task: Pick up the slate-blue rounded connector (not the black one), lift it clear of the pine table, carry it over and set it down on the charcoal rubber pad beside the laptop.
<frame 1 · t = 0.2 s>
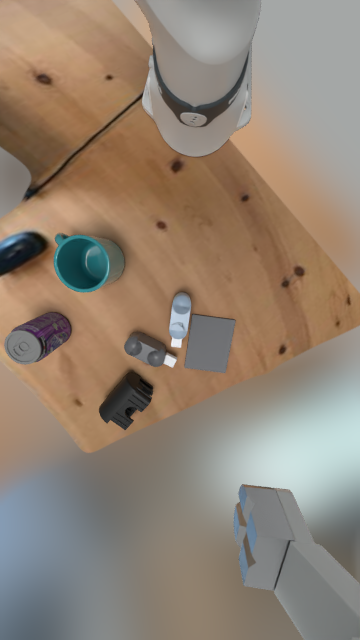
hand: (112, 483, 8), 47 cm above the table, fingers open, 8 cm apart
cup: (97, 256, 53), on the table
black connector: (148, 344, 57), on the table
end cap: (129, 391, 61), on the table
beverage can: (56, 327, 57), on the table
blue connector: (180, 312, 55), on the table
pad: (209, 343, 57), on the table
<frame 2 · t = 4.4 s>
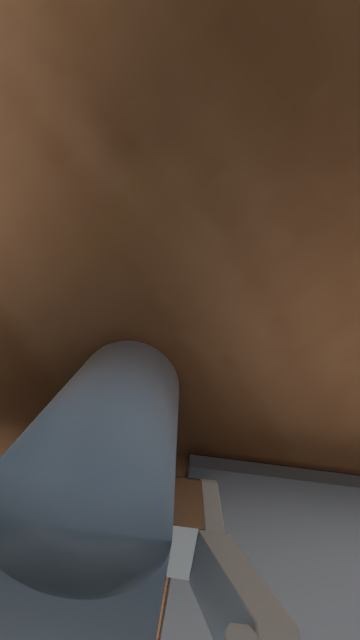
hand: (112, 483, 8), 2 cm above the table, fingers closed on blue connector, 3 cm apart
blue connector: (124, 445, 10), on the table, touching gripper
pad: (271, 580, 12), on the table
when the fingers open (3 cm above the table, at t = 9.0 s): blue connector stays where it is, resting on pad.
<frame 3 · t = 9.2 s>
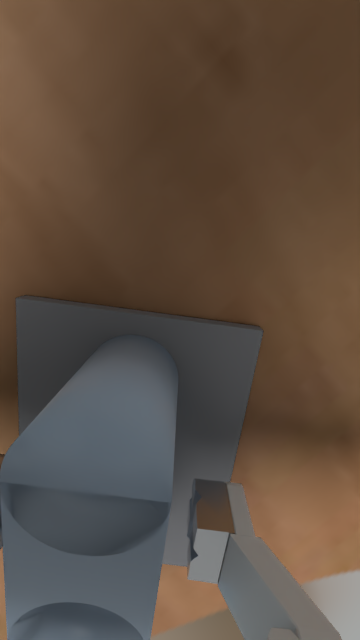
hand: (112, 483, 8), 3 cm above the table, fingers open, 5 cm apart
blue connector: (127, 433, 11), point 1 cm above the table, touching pad
pad: (129, 442, 12), on the table
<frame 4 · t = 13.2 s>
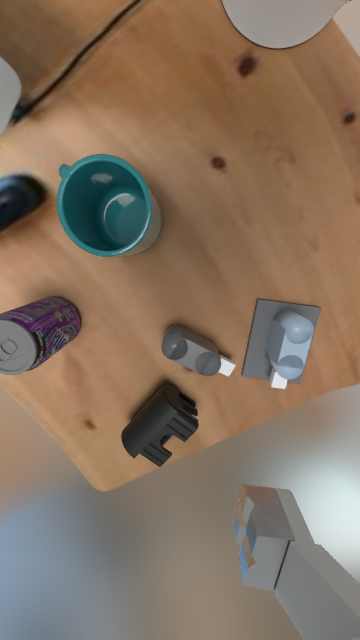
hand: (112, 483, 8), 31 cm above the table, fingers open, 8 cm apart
cup: (120, 213, 36), on the table
black connector: (190, 343, 40), on the table
end cap: (162, 408, 43), on the table
beverage can: (59, 319, 40), on the table
blue connector: (281, 337, 39), point 1 cm above the table, touching pad
pad: (278, 341, 40), on the table
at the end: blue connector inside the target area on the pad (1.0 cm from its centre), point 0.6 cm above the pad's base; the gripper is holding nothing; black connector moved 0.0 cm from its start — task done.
